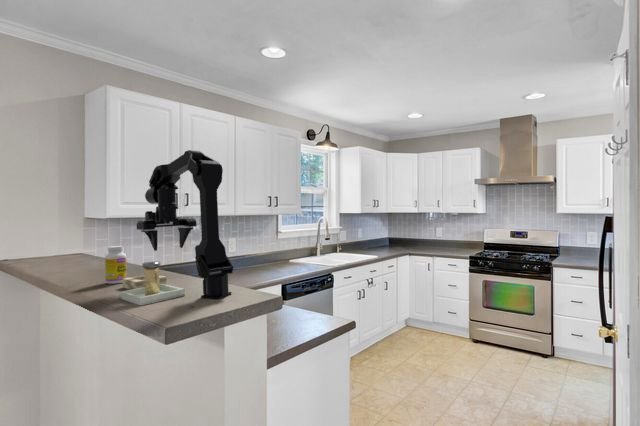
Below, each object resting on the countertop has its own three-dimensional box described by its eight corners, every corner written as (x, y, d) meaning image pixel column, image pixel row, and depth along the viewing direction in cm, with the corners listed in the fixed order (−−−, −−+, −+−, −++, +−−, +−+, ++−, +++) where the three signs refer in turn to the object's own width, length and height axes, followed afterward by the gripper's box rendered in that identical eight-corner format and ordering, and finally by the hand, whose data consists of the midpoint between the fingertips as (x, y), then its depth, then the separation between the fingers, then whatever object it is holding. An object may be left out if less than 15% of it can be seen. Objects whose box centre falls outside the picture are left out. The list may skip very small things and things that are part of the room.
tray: (184, 295, 111) (184, 288, 111) (140, 305, 101) (140, 298, 101) (163, 290, 120) (162, 283, 120) (120, 298, 110) (119, 291, 110)
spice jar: (165, 293, 112) (163, 261, 112) (153, 297, 108) (151, 264, 107) (152, 292, 114) (150, 261, 113) (139, 296, 109) (138, 264, 109)
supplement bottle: (118, 284, 130) (116, 247, 130) (101, 284, 132) (100, 247, 131) (131, 280, 137) (130, 245, 136) (115, 280, 138) (114, 245, 138)
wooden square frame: (166, 285, 126) (166, 276, 126) (136, 291, 119) (136, 281, 119) (152, 282, 133) (152, 273, 133) (123, 287, 125) (122, 278, 125)
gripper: (180, 203, 140) (181, 245, 140) (128, 204, 126) (130, 250, 126) (196, 202, 133) (198, 246, 133) (143, 203, 119) (145, 253, 119)
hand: (168, 249), depth 128 cm, fingers open, 9 cm apart
